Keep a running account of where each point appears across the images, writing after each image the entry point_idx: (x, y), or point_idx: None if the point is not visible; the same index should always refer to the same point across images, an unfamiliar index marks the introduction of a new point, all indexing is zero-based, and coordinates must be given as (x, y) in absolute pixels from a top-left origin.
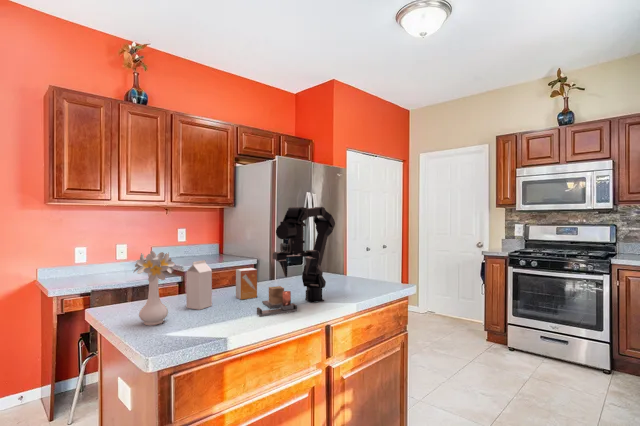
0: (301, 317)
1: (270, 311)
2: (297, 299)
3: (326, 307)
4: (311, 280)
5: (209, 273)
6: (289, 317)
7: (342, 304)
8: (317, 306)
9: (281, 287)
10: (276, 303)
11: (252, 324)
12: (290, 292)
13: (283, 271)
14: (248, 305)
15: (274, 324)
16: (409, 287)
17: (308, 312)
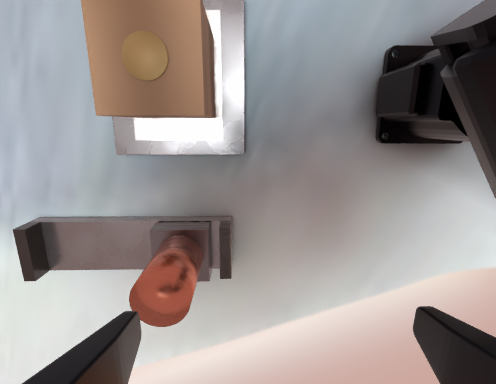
0: (215, 340)
1: (97, 250)
2: (351, 9)
3: (390, 254)
4: (487, 170)
5: None
6: None
7: (490, 241)
8: (364, 220)
9: (193, 72)
10: (165, 119)
11: (4, 342)
12: (184, 315)
13: (59, 371)
14: (10, 7)
15: None
16: None
17: (274, 291)
